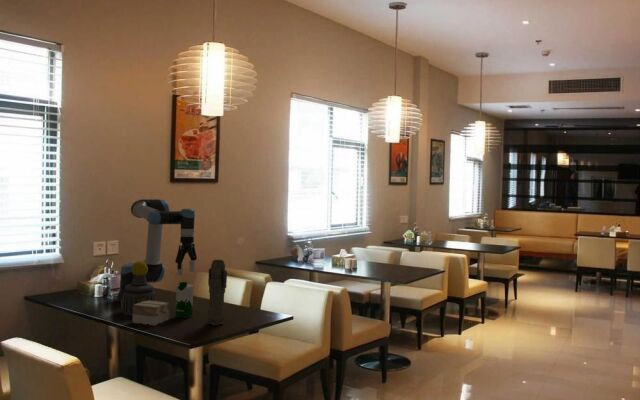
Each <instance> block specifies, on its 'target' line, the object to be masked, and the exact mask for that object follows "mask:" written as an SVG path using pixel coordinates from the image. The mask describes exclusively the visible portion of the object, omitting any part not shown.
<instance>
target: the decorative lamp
mask: <svg viewBox="0 0 640 400" xmlns="http://www.w3.org/2000/svg"><path fill="white" fill-rule="evenodd" d="M133 263H134V264H133V266H132V273H133V274H134V276H133V277H134V278H133V280H132V281H133V282H132V283H131V284H129V285H127V286H125V291H123V294H122V300H121V302H120V303H121V306H120V307H121V308H120V310H121V312H122V314H123V315H125V316H129V317H133V305H134V304H137V303H141V302H144V301H147V300H152V301H157V299H156V291H155V290H154V286H153V285H152V284H150V283H147V282H146V278H145V277H146V276H145V275H146V273H147V271H148V267H147V265H146V263H144V262H143V261H142V260H141V261H136V262H133Z"/></svg>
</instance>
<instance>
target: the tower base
mask: <svg viewBox="0 0 640 400" xmlns="http://www.w3.org/2000/svg"><path fill="white" fill-rule="evenodd" d="M168 319H169V320H170V312H167V313H165V314H162V315H159V316H156V317H151V316H144V315H136V314H133V316H132V321H131V322H133V323H132V324H139V323H142V324H141V325H147V324H149V326H157V324H158V325H159V323H160V324H162V323H164V321H165V322H167V321H169V320H168ZM166 320H167V321H166Z"/></svg>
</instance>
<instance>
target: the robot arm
mask: <svg viewBox="0 0 640 400" xmlns="http://www.w3.org/2000/svg"><path fill="white" fill-rule="evenodd" d="M169 206H170V205H169V203H168V201H166V200H165V199H154V198H153V199H146V198H145V199H138V200H135V201H134V202H133V203H132V204H131V206H130V213H131V214H132V216H134V217H136V218H139V219H144V220H146V221H147V223H148V225H147V239H146V240H147V241H146V252H145V258H144V260H143V261H142V262H144V263H146V265H147V267H148V271H147V273H146V275H145V276H146V277H145V278H146V282H147V284H150V283H153V284H154V283H159V282H162V280H163V279H164V277H165V272H166V270H165V265H164V264H163V262H162V260H161V259H160V258H161V247H162V234H163V232H162V231H163V225H180V230H179V231H180V233H179V234H180V236H179V238H180V239H179V242H180V243H181V245H180V244H179V245H178V250H177V253H176V258H175V261H174V262H175V264H177V272H176V273H177V275H178V276H183V268H184V267H183V262H184V259H185V256H186V254H188V258H189V259H190V260H189V270H188V271H189V273H191V272H194V273H195V261H197V258H198V257H197V252H196V248H195V243H194V241H195V240H194V239H195V237H194V235H195V217H196V215H195V209H194V208H182V209H181V210H175V211H174V210H173V211H171V210H170V207H169ZM134 263H135V262H129V263H125V264H123V265H121V267H120V271H119V273H120V282H119V283H120V285H119V291H118V293H117V297H116V302H118V303H121V300H122V294H123V291H125V286H127V285H129V284H131V283H132V282H133V281H132V280H133V278H134V277H133V276H134V274H133V273H132V266H133V264H134Z"/></svg>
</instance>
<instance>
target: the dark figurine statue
mask: <svg viewBox="0 0 640 400" xmlns="http://www.w3.org/2000/svg"><path fill="white" fill-rule="evenodd" d="M227 280H228V271H227V269H226V263H225V261H224V260H222V259H214V260H212V261H211V265H210V267H209V269H208V279H207V281H208V282H207V283H208V287H209V289H208V293H209V302H208V303H209V305H208V308H209V309H208V311H207V323H208V322H209V323H214V324H218V323H222V322H225V321H224V320H225V307H224V306H225V293H226V288H227V282H228V281H227Z"/></svg>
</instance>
